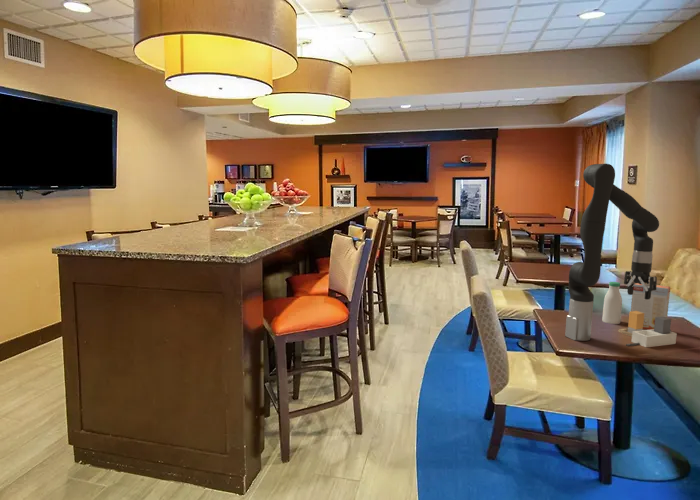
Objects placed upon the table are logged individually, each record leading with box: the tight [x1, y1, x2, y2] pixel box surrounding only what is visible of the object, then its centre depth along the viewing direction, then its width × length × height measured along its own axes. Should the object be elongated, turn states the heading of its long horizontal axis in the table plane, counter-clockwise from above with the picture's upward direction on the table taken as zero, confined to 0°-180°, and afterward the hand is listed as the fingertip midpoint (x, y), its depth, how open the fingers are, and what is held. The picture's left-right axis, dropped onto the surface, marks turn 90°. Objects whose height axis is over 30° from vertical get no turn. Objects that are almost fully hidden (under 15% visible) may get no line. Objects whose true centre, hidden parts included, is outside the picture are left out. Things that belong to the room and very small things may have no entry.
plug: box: [627, 310, 644, 333], centre depth 209 cm, size 4×4×10 cm
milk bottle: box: [601, 281, 623, 325], centre depth 227 cm, size 8×8×20 cm
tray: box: [618, 327, 632, 338], centre depth 210 cm, size 9×9×2 cm
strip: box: [625, 316, 677, 348], centre depth 197 cm, size 22×7×11 cm, turn 106°
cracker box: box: [630, 283, 671, 330], centre depth 218 cm, size 14×6×21 cm, turn 47°
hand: (638, 296), depth 207 cm, fingers open, 8 cm apart
